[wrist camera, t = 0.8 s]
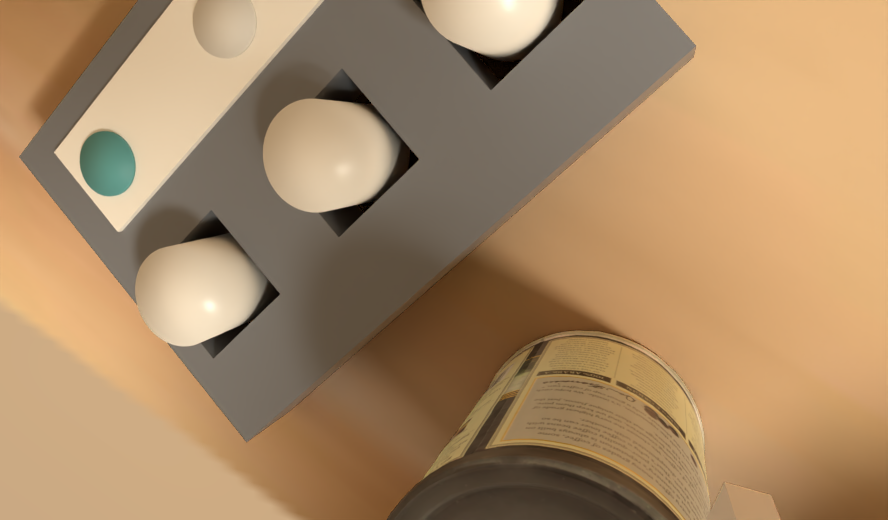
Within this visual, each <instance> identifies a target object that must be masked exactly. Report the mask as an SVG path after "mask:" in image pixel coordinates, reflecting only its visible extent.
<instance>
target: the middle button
mask: <svg viewBox="0 0 888 520" xmlns="http://www.w3.org/2000/svg"><path fill="white" fill-rule="evenodd" d="M409 158H410V149H409V147H408V145H407V144H406V143H405V142H404V141H403V140H402V138H401V137H400V136H399V135H398V134H397V132H396V131H395V130H394V129H393V128H392V127H391V125H390V124H389V123H388V122H387V121H386V120H385V118H384V117H383V116H382V115H381V114H380V112H379V111H378V110H377V109H376V108H375V107H374V105H371V104H362V103H353V102H343V101H333V100H323V99H303V100H299V101H296V102H293V103H291V104H289V105H287V106H286V107H285V108H283V109H282V110H281V111H280V112H279V113H278V114H277V115H276V116H275V117H274V119H273V120H272V122H271V123H270V125H269V127H268V130H267V132H266V135H265V139H264V144H263V162H264V168H265V171H266V175H267V177H268V179H269V182H270V184H271V185H272V187H273V189H274V190H275V191H276V193H277V194H278V195H279V196H280V197H281V198H282V199H283V200H284V201H285V202H287V203H288V204H290V205H291V206H293V207H295V208H297V209H299V210H302V211H306V212H316V213H319V212H326V211H330V210H335V209H340V208H344V207H349V206H353V205H358V204H362V203H367V202H371V201H376V200H378V199H379V198H380V197H381V196H382V195H383V194H384V193H385V192H386V191H387V190H388V189H389V188H390V187H392V186H393V185H394V184H395V183H396V182H397V181H398V180H399V179H400V178H401V177H402V176H403V175H404V174H405V173H406V172H407V169H408V165H409Z"/></svg>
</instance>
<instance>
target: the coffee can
mask: <svg viewBox="0 0 888 520" xmlns="http://www.w3.org/2000/svg"><path fill="white" fill-rule="evenodd" d="M704 453H705V440H704V431H703V425H702V421H701V418H700V414H699V411H698V409H697V406H696V404H695V401H694V399H693V397H692V395H691V393H690V392H689V390H688V388H687V387H686V385H685V384H684V382H683V381H682V379H681V378H680V377H679V375H678V374H677V373H676V372H675V371H674V370H673V369H672V368H671V367H670V366H668V365H667V364H666V363H665V362H664V361H663V360H662V359H661V358H659V357H658V356H657V355H656V354H654V353H653V352H651V351H650V350H648V349H646V348H645V347H643V346H642V345H639V344H637V343H635V342H633V341H630V340H628V339H625V338H623V337H620V336H616V335H612V334H608V333H604V332H600V331H580V330H577V331H567V332H560V333H555V334H552V335H548V336H545V337H543V338H540V339H538V340H535V341H533V342H531V343H529V344H528V345H526V346H524V347H523V348H522V349H519V350H518V351H517V352H516V353H515V354H514V355H512V356H511V357H510V358H509V359H508V360H507V361H506V362H505V363H504V365H503V366H502V367H501V368H500V370H499V371H498V372H497V373H496V375H495V377H494V378H493V380H492V382H491V384H490V386H489V388H488V389H487V390H486V392H485V393H484V395H483V396H482V397H481V399H480V400H479V401H478V403H477V404H476V405H475V407H474V408H473V410H472V411H471V413H470V414H469V415H468V417H467V418H466V420H465V421H464V422H463V424H462V425H461V427H460V428H459V429H458V431H457V432H456V433H455V434H454V436H453V437H452V438H451V440H450V441H449V443H448V444H447V445H446V446H445V448H444V449H443V450H442V452H441V453H440V454H439V456H438V458H437V459H436V461H435V462H434V464H433V465H432V466H431V468H430V469H429V470H428V472H427V473H426V475H425V476H424V477H423V479H422V480H421V481H420V482H419V483H418V484H416V485H415V486H414V487H413V488H412V489H411V490H410V491H409V492H408V493H407V494H406V495H405V497H404V498H403V499H402V500H401V501H400V502H399V504H398V505H397V506H396V507H395V509H394V510H393V511H392V512H391V514H390V515H389V517H388V518H387V520H706V518H707V516H708V514H709V512H710V497H709V491H708V483H707V474H706V466H705V458H704Z"/></svg>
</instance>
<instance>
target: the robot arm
mask: <svg viewBox="0 0 888 520" xmlns="http://www.w3.org/2000/svg"><path fill="white" fill-rule="evenodd" d="M706 520H781V519H780V516H779V514H778V511H777V509H776V506H775V504H774V501H773V499H772V496H771V495H770V494H766V493H763V492H759V491H756V490H752V489H748V488H745V487H741V486H738V485H734V484H730V483H727V482H724V484H723V486H722V488H721V490H720V492H719V494H718V496H717V498H716V500H715V502H714V504H713V506H712V508H711V510H710V512H709V514H708V516H707V518H706Z"/></svg>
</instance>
